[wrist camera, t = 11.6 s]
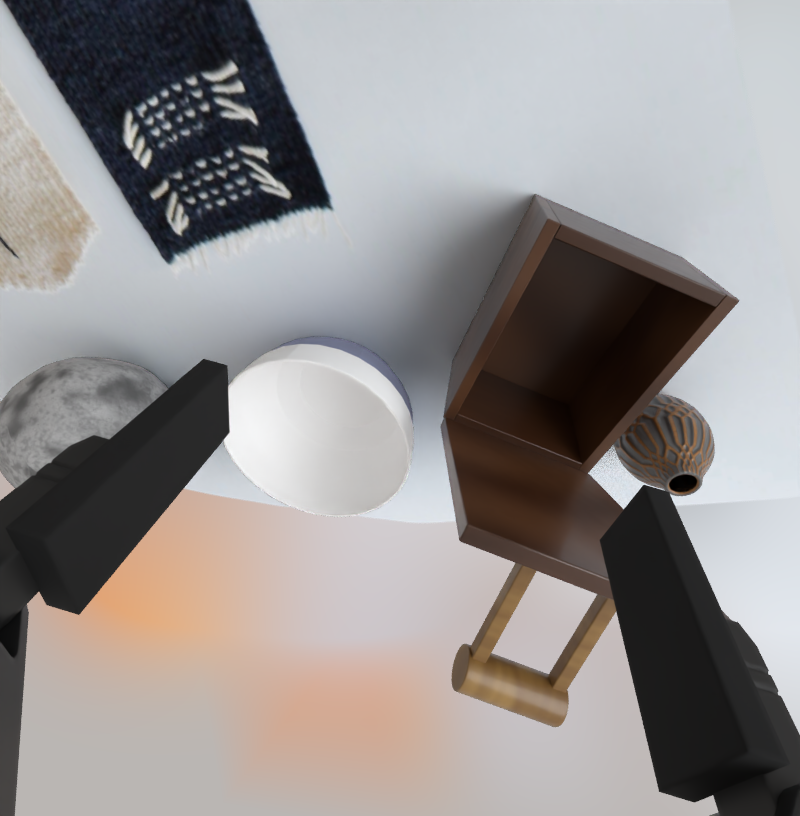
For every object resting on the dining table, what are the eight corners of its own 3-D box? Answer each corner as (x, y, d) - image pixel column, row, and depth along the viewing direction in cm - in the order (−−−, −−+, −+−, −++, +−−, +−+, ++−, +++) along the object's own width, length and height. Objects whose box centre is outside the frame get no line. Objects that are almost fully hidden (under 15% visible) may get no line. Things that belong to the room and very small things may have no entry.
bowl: (292, 449, 48) (253, 513, 40) (246, 313, 40) (186, 362, 32) (433, 451, 45) (420, 521, 37) (417, 303, 36) (396, 354, 28)
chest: (534, 193, 30) (547, 218, 23) (682, 257, 31) (740, 300, 24) (452, 361, 39) (442, 417, 32) (569, 409, 39) (586, 475, 32)
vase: (711, 408, 37) (764, 479, 30) (646, 457, 41) (679, 530, 34) (649, 367, 36) (688, 430, 29) (588, 421, 40) (609, 489, 33)
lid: (467, 524, 16) (382, 696, 18) (742, 630, 17) (629, 785, 19) (444, 416, 31) (399, 518, 33) (590, 474, 32) (536, 571, 34)
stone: (228, 450, 50) (143, 558, 38) (112, 439, 53) (-3, 537, 41) (190, 332, 42) (65, 421, 30) (54, 325, 45) (-113, 405, 32)
